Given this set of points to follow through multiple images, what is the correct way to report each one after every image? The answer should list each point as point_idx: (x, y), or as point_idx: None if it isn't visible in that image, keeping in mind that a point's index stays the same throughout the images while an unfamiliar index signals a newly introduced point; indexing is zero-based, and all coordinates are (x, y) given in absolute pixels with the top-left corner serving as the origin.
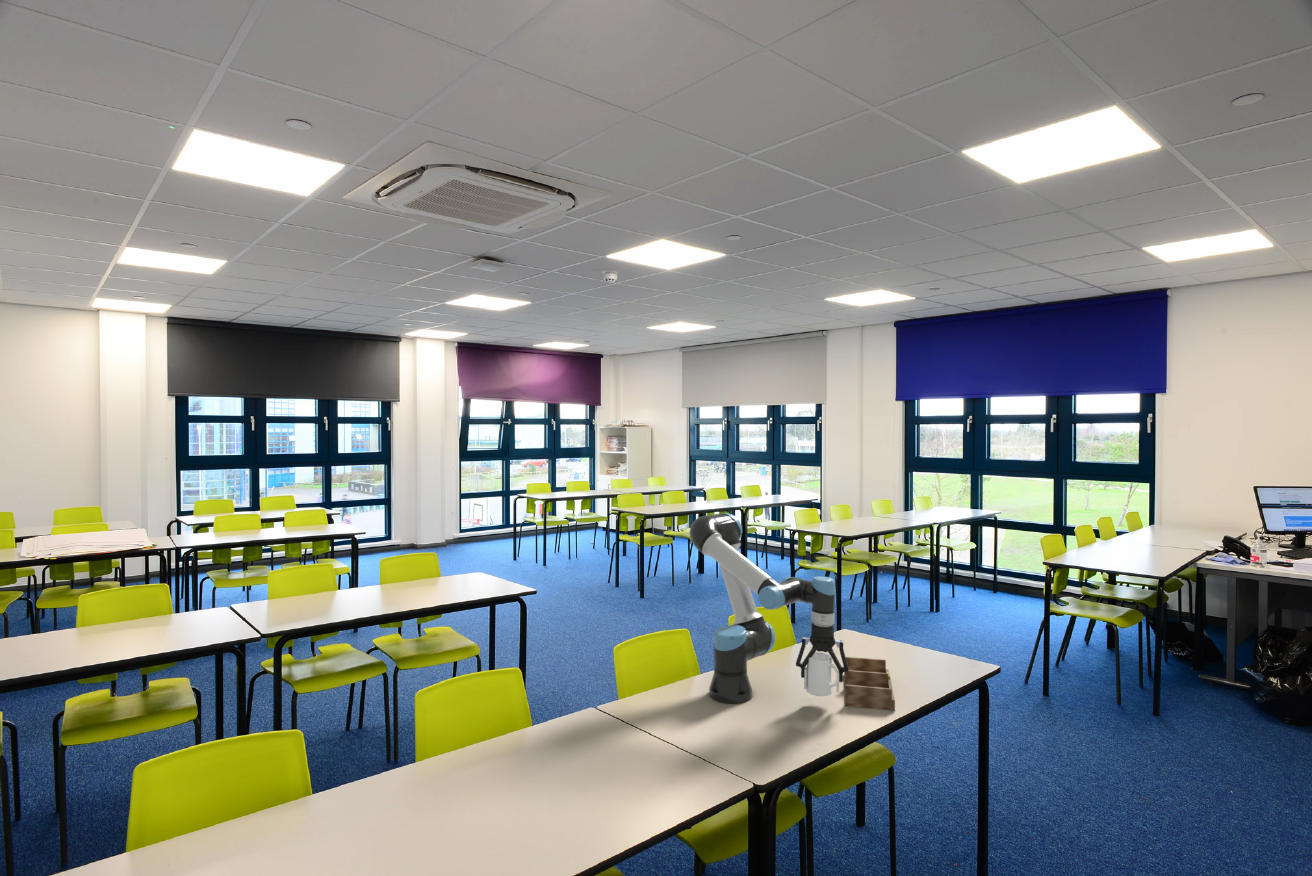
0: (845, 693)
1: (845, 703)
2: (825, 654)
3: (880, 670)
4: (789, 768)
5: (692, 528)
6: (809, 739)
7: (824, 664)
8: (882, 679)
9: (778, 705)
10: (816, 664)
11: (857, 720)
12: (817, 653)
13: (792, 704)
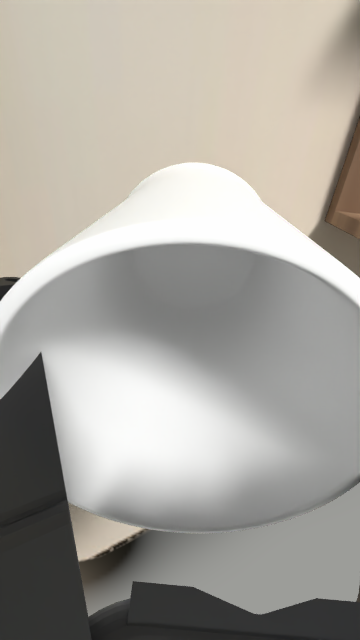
0: (357, 237)
1: (332, 223)
2: (341, 296)
3: None
4: (111, 540)
5: None
6: None
7: (233, 482)
8: None
9: (14, 254)
10: (147, 473)
11: None
12: (164, 240)
13: (71, 234)
